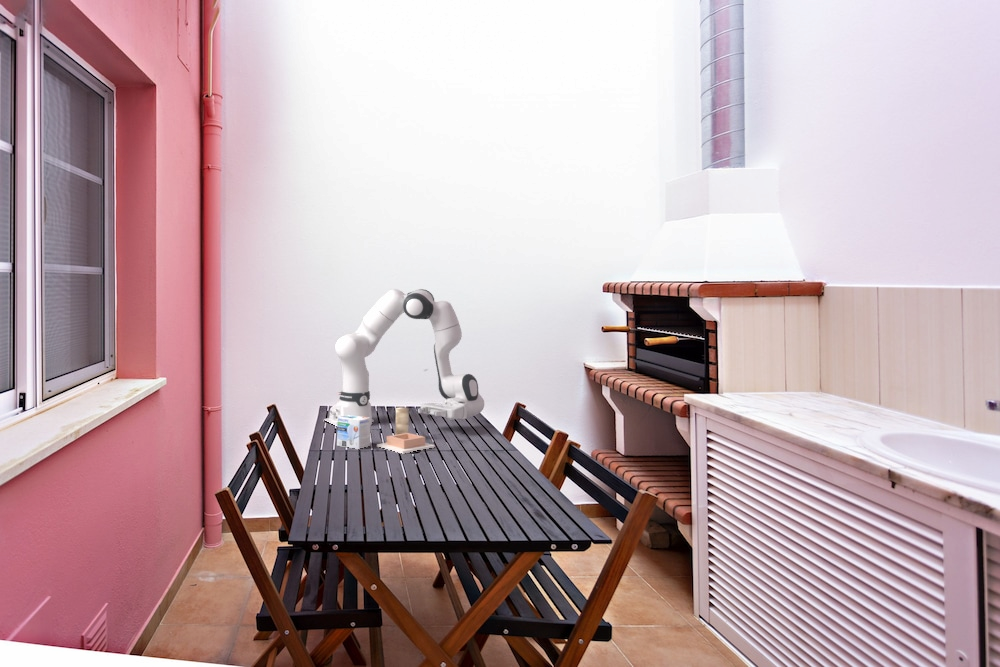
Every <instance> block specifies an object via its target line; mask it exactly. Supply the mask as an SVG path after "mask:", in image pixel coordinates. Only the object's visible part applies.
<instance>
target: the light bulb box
mask: <svg viewBox="0 0 1000 667" xmlns="http://www.w3.org/2000/svg"><path fill="white" fill-rule="evenodd" d="M371 426H372V425H371V418H368V417H361V416H353V415H346V416H342V417H338V424H337V427H336V428H337V430H336V432H337V433H336V436H337V437H336V446H337V447H342V448H347V447H349V448H348V449H352V448H355V449H354V450H358V449H359V450H361V449H360V448H363V449H365V448H364V447H366V448H369V447H368V446H370V447H371V428H372V427H371Z"/></svg>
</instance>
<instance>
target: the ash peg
mask: <svg viewBox="0 0 1000 667" xmlns="http://www.w3.org/2000/svg"><path fill="white" fill-rule="evenodd" d="M409 421H410V409H409V407H396V408H395V430H394V431H395V434H394V435H398V434H404V433H410V432H409V425H410V422H409Z"/></svg>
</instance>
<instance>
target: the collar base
mask: <svg viewBox="0 0 1000 667" xmlns="http://www.w3.org/2000/svg"><path fill="white" fill-rule="evenodd" d="M379 447H381V448H380V449H382V448H385V449H384V450H386V449H388V450H387V451H390V450H392V451H391V452H393V451H395V452H394V453H397V452H398V453H399V454H401V453H402V455H405V453H406V454H411V453H414V452H413V451H416V452H418V451H417V450H421V451H424V450H423V449H426V450H430V449H429V448H432V449H435V448H436V446H435V444H431V443H429V442H426V436H423V435H418V434H415V433H411V432H409V433H404V434H398V435H395V434H393V435H387V436H386V442H382V443H377V444H376V448H379ZM434 447H435V448H434ZM410 452H411V453H410ZM398 453H397V454H398Z"/></svg>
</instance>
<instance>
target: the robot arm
mask: <svg viewBox="0 0 1000 667" xmlns="http://www.w3.org/2000/svg"><path fill="white" fill-rule="evenodd" d="M454 309H455V308H454V307H453V306H452V303H451V302H450V301H449V302H448V301H446V300H438V301H435V297H434V295H433V294H432V293H431V292H430V291H428V290H427V289H422V288H420V289H416V290H413V291H411V292H408V293H406V294H405V293H404V292H403V291H402V290H400V289H398V288H392V289H390V290H388V291H387V292H386V293H384V294H383V295H382V296H381V297H380V298H379V299H378V300H377V301H376V302H375V303H374V304H373V305H372V307H371V308H370V309H369V310H368V311H367V313H366V314H365V315H364V316H363V317H362V321H361V323H360V325H359V326H358V328H357V329H356V331H354V332H353V333H345V334H344V335H343V336H341V337H339V339H337V341H336V343H335V345H334V348H335V349H334V350H335V353H336V355H337V356H338V358H339V363H340V367H341V378H342V379H341V381H342V382H341V386H342V387H341V388H342V389H341V391H339V392H338V396H339V400H338V401H337V402H336V403H334V405H332V406H331V407H330V409H329V416H328V417H327V418H324V419H323V421H324V420H325V421H327V422H329V423H331V424H333V425H335V426H334V427H336V426H337V424H338V417H342V416H346V415H353V416H361V417H368V418H371V426H372V425H373V423H374V421H375V420H374V419H373V416H372V415H373V414H372V413H373V412H372V405H371V402H370V398H371V397H370V396H371V391H370V388H369V387H370V384H369V383H370V373H369V371H368V368H367V365H366V360H365V358H366V357H368V356H370V355H372V354H373V352H374V351H375V349H376V348H377V346H378V344H379V342H380V340H381V339H382V338H383V336H384V335H385V333H386V332H387V331H388V330H389V329H390V327H392V326H393V324H395V322H396V321H397V320H398V318H400V316H402V314H403V313H405V315H406V316H407V317H408V318H411V319H413V320H429V321H430V323H431V326H432V330H433V333H434V340H435V342H434V344H433V353H434V359H435V366H436V371H437V378H438V392H439V393H440V395H441V397H442V398H443V399H445V400H444V401H443V403H437V402H427V403H422V404H420V408H418V409H417V413H418V414H426V415H430V416H431V415H432V416H434V417H443V418H446V419H447V420H449V421H450V420H451V421H452V420H453V421H454V420H467V418H469V417H474V416H478V415H479V414H480V413H481V412H482V411H483V410H484V407H485V400H484V398H483V396H482V395H481V394H480V392H479V383H478V380H477V379H476V378H475V376H474V375H473V374H470V373H466V374H465V373H464V374H456V375H454V374H453V372H452V368H451V361H450V353H451V351H452V350H453V349H454V348H455V347H457V346H458V344H459V343H460V342H461V340H462V337H463V336H462V328H461V324H460V322H459V319H458V317H457V313H456V311H455V310H454ZM372 422H373V423H372ZM331 424H330V425H331ZM333 425H332V426H333Z"/></svg>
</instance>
